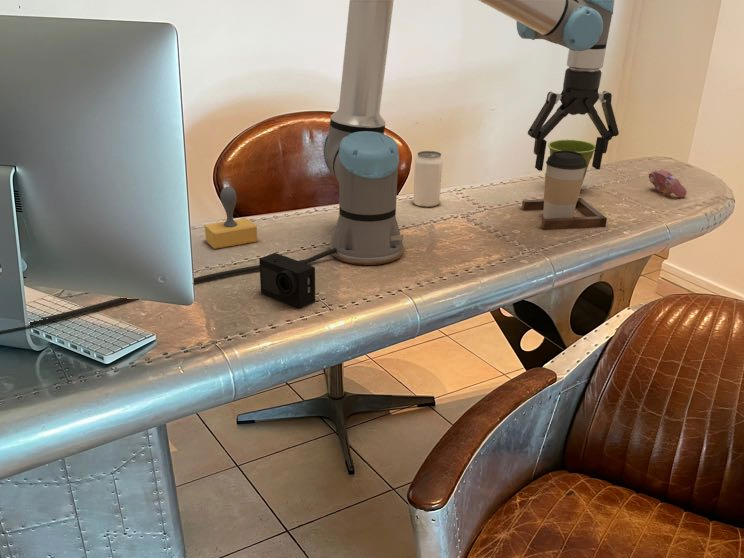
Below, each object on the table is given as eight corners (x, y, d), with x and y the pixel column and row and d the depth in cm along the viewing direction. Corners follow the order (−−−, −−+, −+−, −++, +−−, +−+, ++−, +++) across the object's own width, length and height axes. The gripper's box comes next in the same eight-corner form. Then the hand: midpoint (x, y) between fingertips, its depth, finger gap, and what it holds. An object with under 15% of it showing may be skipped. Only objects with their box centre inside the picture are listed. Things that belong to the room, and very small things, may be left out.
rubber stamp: (214, 249, 172) (210, 193, 165) (205, 241, 176) (200, 186, 170) (258, 242, 175) (255, 187, 169) (247, 233, 180) (244, 180, 173)
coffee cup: (574, 211, 193) (585, 147, 185) (580, 224, 185) (592, 158, 177) (536, 210, 194) (545, 146, 186) (540, 223, 186) (550, 157, 178)
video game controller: (648, 193, 210) (643, 170, 206) (664, 184, 210) (658, 161, 206) (673, 205, 202) (668, 181, 198) (689, 195, 202) (684, 171, 198)
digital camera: (255, 294, 152) (253, 259, 148) (276, 286, 155) (274, 251, 152) (294, 311, 146) (293, 274, 142) (315, 301, 149) (314, 266, 146)
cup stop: (543, 229, 182) (544, 220, 181) (521, 208, 195) (522, 200, 194) (605, 226, 184) (607, 218, 183) (579, 205, 197) (581, 197, 196)
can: (444, 205, 196) (447, 155, 190) (420, 208, 194) (423, 158, 188) (431, 198, 202) (435, 149, 195) (408, 201, 200) (411, 151, 193)
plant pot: (538, 182, 213) (544, 139, 207) (583, 183, 212) (590, 139, 206) (546, 196, 203) (552, 151, 197) (594, 197, 202) (602, 152, 196)
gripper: (631, 65, 177) (612, 162, 188) (521, 65, 174) (509, 165, 185) (647, 71, 171) (626, 171, 182) (533, 72, 168) (519, 174, 179)
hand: (567, 168), depth 183 cm, fingers open, 13 cm apart
